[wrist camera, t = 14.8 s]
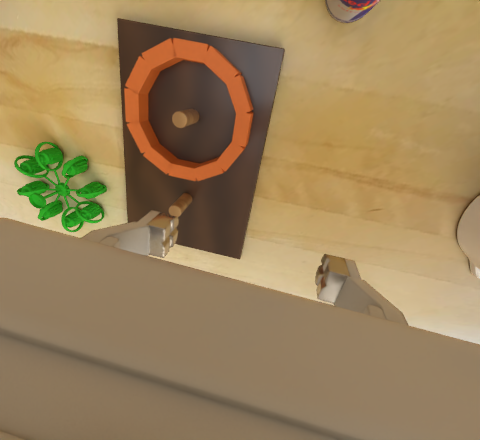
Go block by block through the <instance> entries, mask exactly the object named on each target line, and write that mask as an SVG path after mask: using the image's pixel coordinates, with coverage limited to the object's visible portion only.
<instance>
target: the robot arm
mask: <svg viewBox="0 0 480 440" xmlns="http://www.w3.org/2000/svg"><path fill="white" fill-rule="evenodd" d="M178 224H179V218H178V217H176V216H172V215H169V214H165V213H161V212H158V211H152V210H151V211H150V212H149V213H148V214H146V215H145V216H144V217H143V218H142V219H140V220H139V221H138V222H130V223H126V224H121V225H117V226H112V227H107V228H103V229H98V230H93V231H91V232H89V233H88V234H86V235H85V236H84V237H82V238H78V237H74V236H71V235H67V234H63V233H59V232H56V231H52V230H48V229H44V228H41V227H37V226H33V225H29V224H26V223H22V222H19V221H15V220H12V219H8V218H0V440H480V345H479V344H475V343H471V342H468V341H464V340H460V339H456V338H453V337H449V336H445V335H441V334H438V333H434V332H430V331H426V330H423V329H419V328H415V327H411V326H408V323H407V321H406V319H405V317H404V315H403V313H402V312H401V311H400V310H398V309H397V308H396V307H395V306H394V305H393V304H391V303H390V302H389V301H388V300H387V299H385V298H384V297H383V296H382V295H381V294H380V293H378V292H377V291H376V290H375V289H374V288H373V287H371V286H370V285H369V284H368V283H367V282H366V281H364V280H361V277H360V275H359V272H358V269H357V267H356V264H355V261H353V260H349V259H345V258H340V257H336V256H331V255H327V254H324V256H323V257H322V260H321V262H322V265H321V266H319V267H318V270H317V272H316V277H315V282H316V285H317V286H318V287H317V289H316V291H317V298H318V299H320V300H323V301H326V302H330V303H333V304H334V305H335V306H333V305H329V304H325V303H322V302H318V301H314V300H310V299H307V298H303V297H299V296H295V295H292V294H288V293H284V292H280V291H277V290H273V289H269V288H265V287H262V286H258V285H254V284H250V283H247V282H243V281H239V280H235V279H232V278H228V277H224V276H220V275H217V274H213V273H209V272H205V271H202V270H198V269H194V268H190V267H187V266H183V265H179V264H175V263H172V262H168V261H164V260H160V259H157V258H153V257H149V256H148V255H153V256H158V257H162V258H164V257H165V256H166V255H167V253H168V252H169V248H170V247H173V246H174V244H175V242H176V240H177V236H178V230H177V228H176V227H177V226H178ZM457 240H458V244H459V246H460V248H461V250H462V251H463V252H464V253H465V255H466V256H467V257H468V259H469V260H470V270H471V273H472V274H473V275H474V276H476V277H477V278H479V279H480V195H479V196H478V197H477V198H476V199H475V200H474V201H473V202H472V203H471V204H470V205H469V206H468V207H467V209H466V210H465V212H464V213H463V215H462V217H461V219H460V221H459V224H458V229H457Z"/></svg>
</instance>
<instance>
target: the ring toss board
mask: <svg viewBox="0 0 480 440" xmlns="http://www.w3.org/2000/svg"><path fill="white" fill-rule="evenodd" d="M117 21H118V40H119V59H120V79H121V98H122V118H123V137H124V157H125V176H126V195H127V215H128V223H130V222H138V221H139V220H140V219H142V218H143V217H144V216H145V215H146V214H148V213H149V212H150V211H151V210H152V211H158V212H161V213H165V214H169V215H172V216H176V217H178V218H179V224H178V226H177V227H176V228H177V230H178V236H177V240H176V242H175V244H178V245H182V246H187V247H191V248H195V249H199V250H203V251H207V252H212V253H216V254H220V255H224V256H228V257H233V258H237V259H240V258H241V253H242V249H243V244H244V239H245V235H246V230H247V225H248V221H249V216H250V211H251V206H252V202H253V197H254V192H255V188H256V183H257V178H258V173H259V169H260V164H261V159H262V155H263V150H264V145H265V141H266V136H267V131H268V126H269V122H270V117H271V112H272V108H273V103H274V98H275V94H276V89H277V84H278V79H279V75H280V70H281V65H282V61H283V56H284V51H285V50H284V49H282V48H277V47H271V46H266V45H260V44H255V43H250V42H244V41H239V40H233V39H228V38H222V37H217V36H211V35H206V34H200V33H195V32H189V31H184V30H179V29H173V28H168V27H162V26H157V25H151V24H146V23H140V22H135V21H129V20H124V19H119V18H118V19H117ZM170 38H171V39H173V38H178V39H184V40H189V41H194V42H200V43H205V44H208V45H210V46H212V47H214V48H215V49H217V50H218V51H219V52H220V53H221V54H222V55H223V56H224V57H225V58H226V59H227V60H228V61H229V62H230V63H231V64H232V65H233V66H234V67H236V68H237V69H238V70H239V71H240V72H241V76H243V77H244V80H245V83H246V87H247V90H248V93H249V96H250V100H251V103H252V106H253V110H252V111H250V112H253V119H252V124H251V130H250V135H249V141H248V144H247V146H246V148H245V149H244V150H243V152H242V153H241V154H240V155H239V156H238V158H237V159H236V160H235V161H234V162H233V163H232V165H231V166H230V167H229V168H228V169H227V171H225V172H224V173H222V174H219V175H216V176H213V177H210V178H207V179H204V180H200V181H197V180H196V181H192V180H187V179H183V178H178V177H174V176H169V173H167V174H165V173H164V172H163V171H162V170H160V169H159V168H158V167H157V166H155V165H154V164H153V163H152V162H150V161H149V160H148V159H147V158H146V157H144V156H143V155H144V153H145V152H144V153H141V152H140V150H139V148H138V146H137V144H136V142H135V140H134V138H133V136H132V134H131V132H130V130H129V128H128V126H127V124H129V122H126V114H125V92H124V88H128V87H126V86H125V84H126V82H127V80H128V78H129V76H130V74H131V72H132V70H133V68H134V66H135V64H136V62H137V60H138V58H139V56H142V53H143V52H145V51H147V50H149V49H151V48H153V47H154V46H156V45H158V44H160V43H162V42H164V41H166V40H168V39H170ZM235 118H236V112H235V109H234V106H233V103H232V100H231V97H230V94H229V91H228V88H227V85H226V84H225V83H224V82H223V81H222V80H221V79H220V78H219V77H218V76H217V75H216V74H215V73H214V72H213V71H212V70H211V69H209V68H208V67H207V66H206V65H205V64H202V63H197V62H192V61H187V60H182V61H180V62H178V63H176V64H174V65H172V66H170V67H168V68H166V69H164V70H162V71H160V73H159V75H158V77H157V79H156V80H155V82H154V84H153V86H152V88H151V89H150V91H149V93H148V120H149V122H150V124H151V126H152V129H153V131H154V133H155V135H156V137H157V139H158V141H159V143H160V144H161V145H162V146H163V147H164V148H166V149H167V150H168V151H169V152H170V153H172V154H173V155H174V156H175V157H176V158H178V159H181V160H185V161H190V162H194V163H199V164H201V163H203V162H206V161H209V160H212V159H215V158H218V157H220V156H221V154H222V153H223V152H224V151H225V149H226V148H227V147H228V146H229V144H230V143H231V142H232V137H233V131H234V124H235Z"/></svg>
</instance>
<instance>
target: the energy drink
mask: <svg viewBox="0 0 480 440" xmlns="http://www.w3.org/2000/svg"><path fill="white" fill-rule="evenodd" d="M379 1H380V0H325V3H326V7H327V10H328V12H329V14H330V15H331V16H332V17H333V18H334V19H335V20H337V21H339V22H343V23H349V22H354V21H356V20H358V19H360V18H362V17H363V16H364V15H365V14H367V13H368V12H369V11H370V10H371V9H372V8H373V7H374V6H375V5H376V4H377V3H378V2H379Z"/></svg>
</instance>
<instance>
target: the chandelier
mask: <svg viewBox="0 0 480 440" xmlns="http://www.w3.org/2000/svg"><path fill="white" fill-rule="evenodd" d="M46 143H47V144H50V145H52V146H53V147H55V148H50V149H46V150H42V151H41V152H39V150H40V148H41V146H42V145H44V144H46ZM23 158H27V159H30V160H26V161H24V162H23V163H21V164H20V167H19V166H18V164H17V161H18V160H19V159H23ZM83 159H84V160H83ZM87 161H88V159H87V158H86V157H85V156H78V157H76V158H74V159H73V160H70V161H68V162H67V163H65V164H64V166H63V171H62V175H63V176H64V177H65V178H68V179H67V180H66V182H65V184H64V183H60V180H59V178H58V175H57V172H56V170H58V169H59V168H60V167H61V165H62V163H63V154H62V152H61V150H60V149H59V148H58V146H56V145H55V144H54V143H51V142H42V143H40V144H39V145H38V146H37V147H36V149H35V157H33V156H27V155H24V156H19V157H17V158H16V160H15V163H14V164H15V167H16V168H17V170H19V171H20V172H21V173H23V174H25V175H27V176H30V177H35V178H42V177H45V178H46V179H48V180H49V181H50V182H51V183H53V184H54V185H55V186H56V187H55V189H49V188H50V187H49V185H48V184H44V183H43V182H41V181H34V182H31V183H29V184H26V185H25V186H24V187H22V188H20V189H18V190H17V192H18V194H19V195H24V196H27V197H29V200H30V203H31V204H32V205H33V206H34V207H36V208H41V209H40V213H39V215H38V218H39V219H40V220H41V221H43V220H46V219H48V218H50V217H54V216H55V215H57V214H59V213H61V212H62V210H63V208H62V204H63V203H62V202H61V201H59V200H58V198H59V197H60V195H61V196H64V199H65V201H66V204H67V206H68V208H67V209H66V210H65V211H64V213H63V215H62V225H63V227H64V229H65V230H67V231H69V232H76V231H78V230H80V229H81V227H82V226H83V223H84V221H86V222H89V223H98V222H100V221H101V220H102V219H103V218H104V211H103V210H102V208H101V207H100V206H99V205H98V204H96V203H93V202H89V201H83V202H80V203H79V202H78V201H77V200H76V199H74V198H73V197H72V196H71V195H69V194H70V191H76V194H77V196H79V197H85V198H86V199H90V198H95V197H96V196H98V195H100V194H102V193H104V192H106V191H107V188H106V186H105V185H101V184H100V183H98V182H92V183H90V184H88V185H86V186H84V187H83V188H81V189H79V190H75V189H69V187H68V186H67V185H66V184H67V182H68V181H69V179H70V178H71V177H73V176H75V175H77V174H80V173H82V172H85V171H86V170H87V168H88V165H87ZM57 162H59V164H58V166H57V167H56V168H54V169H49V167H48V165H47V164H54V163H57ZM44 170H47V173H45V174H43V175H35V174H36V173H39V172H42V171H44ZM49 171H54V172H55V175H56V177H57V180H58V185H57V184H55V183H54V182H53V181H52V180H50V179H49V178H48V177H46V176H47V174H48V173H49ZM66 173H67V174H69V175H66ZM103 188H104V189H103ZM46 190H55V191H56V192H53V193H51V194H49V195H46V196H44V197H43V196H42V195H41V194H42V193H44V192H45V191H46ZM80 192H81V194H80ZM57 193H58V194H59V195H58V196H57V198H56V200H55V201H54V202H51V203H49V204H47V205H46V200H45V199H46V198H48V197H51V196H53V195H55V194H57ZM66 196H69V197H71V198H72V199H73V200H74V201H76V202H77V203H78V205H77V206H76V207H69V204H68V202H67V199H66ZM81 204H89V205H88V206H86V207H84V208H83V209H82V210H80V209H79V208H78V206H79V205H81ZM73 208H74V209H75V211H74V212H72V213H70V214H69V215H67V216H66V214H67V212H68V211H69V210H70V209H73ZM100 213H101V214H102V218H101V219H100V220H89V219H93V218H94V217H96V216H97V215H99V214H100ZM65 216H66V217H65ZM42 217H43V218H42ZM79 223H80V225H79V227H78V228H77V229H76V230H73V231H71V230H69V229H68V228H67V227H73V226H76V225H78V224H79Z"/></svg>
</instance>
